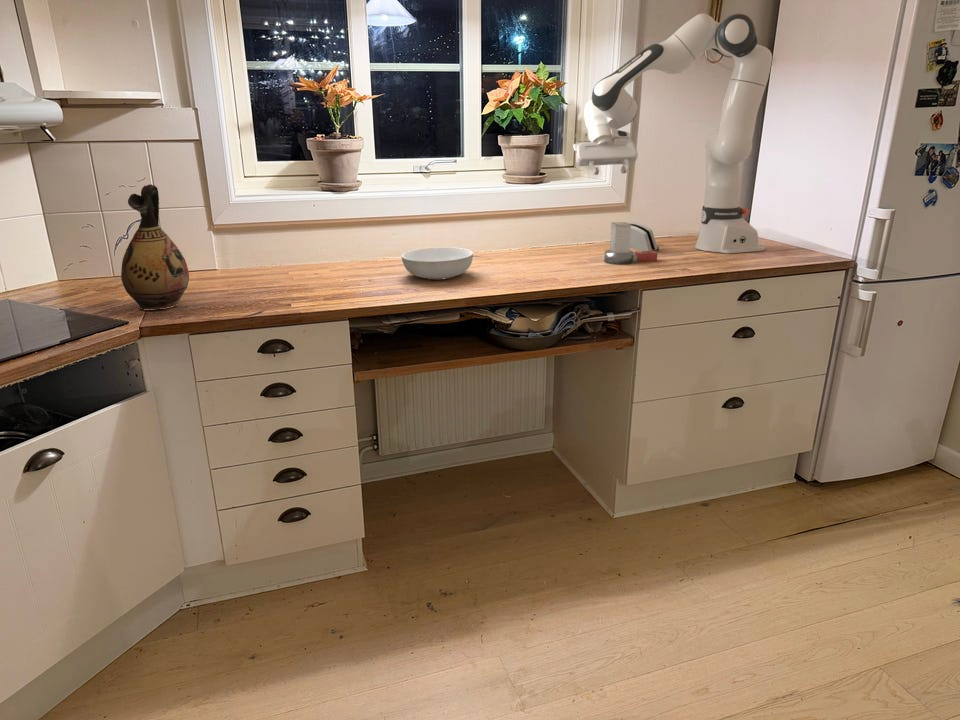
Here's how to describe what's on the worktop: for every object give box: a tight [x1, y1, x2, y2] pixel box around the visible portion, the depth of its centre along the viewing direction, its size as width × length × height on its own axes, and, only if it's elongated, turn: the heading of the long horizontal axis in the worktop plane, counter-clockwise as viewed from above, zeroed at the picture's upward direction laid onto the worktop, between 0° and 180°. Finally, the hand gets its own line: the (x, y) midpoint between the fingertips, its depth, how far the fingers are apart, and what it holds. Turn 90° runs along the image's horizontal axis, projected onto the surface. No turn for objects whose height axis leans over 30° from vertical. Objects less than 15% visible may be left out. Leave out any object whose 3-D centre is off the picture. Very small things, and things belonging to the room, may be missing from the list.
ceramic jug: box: [120, 183, 190, 309], centre depth 169 cm, size 17×15×30 cm
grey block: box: [609, 221, 631, 254], centre depth 213 cm, size 5×5×9 cm
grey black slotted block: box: [628, 221, 661, 252], centre depth 234 cm, size 17×5×10 cm, turn 30°
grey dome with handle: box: [603, 249, 659, 265], centre depth 215 cm, size 16×9×8 cm, turn 97°
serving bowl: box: [401, 246, 474, 280], centre depth 199 cm, size 21×21×7 cm
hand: (610, 172), depth 222 cm, fingers open, 8 cm apart
